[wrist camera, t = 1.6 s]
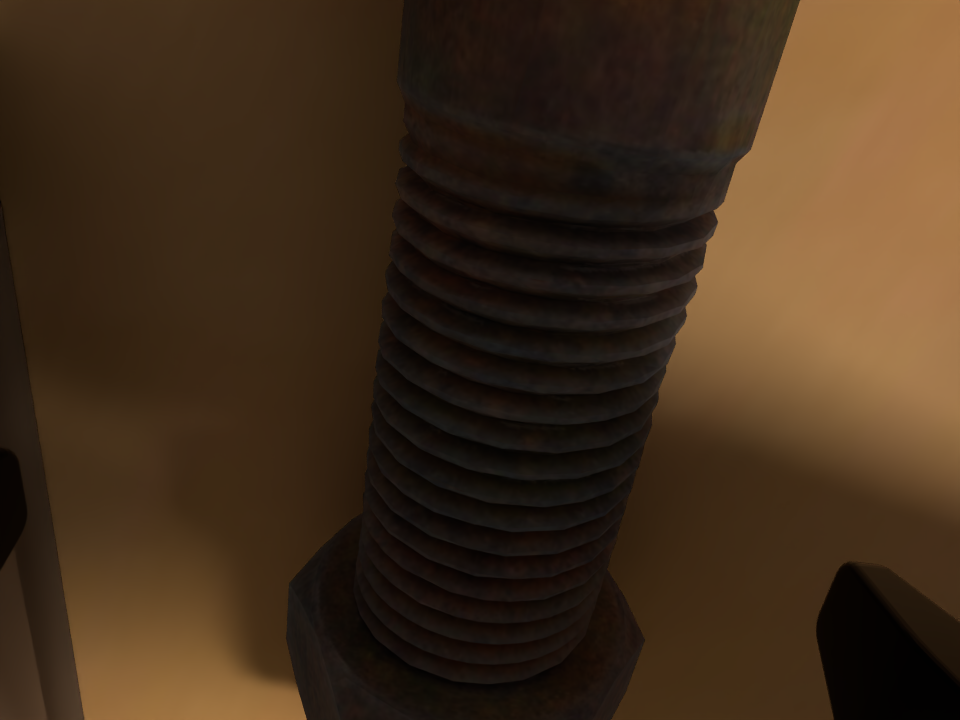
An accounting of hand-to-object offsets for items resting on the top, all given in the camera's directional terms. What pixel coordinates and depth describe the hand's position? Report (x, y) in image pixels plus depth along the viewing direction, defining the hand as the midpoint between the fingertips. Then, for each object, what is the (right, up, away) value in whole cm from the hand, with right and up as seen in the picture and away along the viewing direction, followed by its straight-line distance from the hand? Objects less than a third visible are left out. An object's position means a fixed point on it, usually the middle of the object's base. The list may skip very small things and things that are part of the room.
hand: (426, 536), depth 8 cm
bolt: (+1, +2, +3) cm, 4 cm away
